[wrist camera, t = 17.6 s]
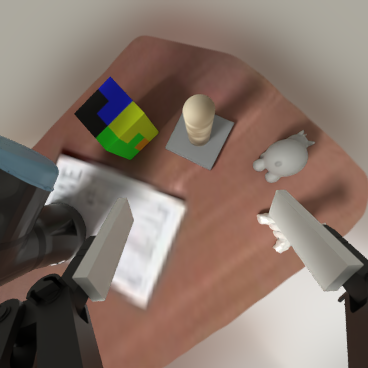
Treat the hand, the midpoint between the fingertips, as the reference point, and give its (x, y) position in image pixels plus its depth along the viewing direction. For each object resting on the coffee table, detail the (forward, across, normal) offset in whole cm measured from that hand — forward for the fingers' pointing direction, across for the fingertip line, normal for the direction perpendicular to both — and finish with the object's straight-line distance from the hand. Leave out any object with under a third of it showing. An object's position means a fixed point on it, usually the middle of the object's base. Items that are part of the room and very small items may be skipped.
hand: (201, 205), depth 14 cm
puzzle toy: (+29, -14, 0) cm, 33 cm away
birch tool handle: (+25, +2, 0) cm, 25 cm away
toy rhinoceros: (+22, +20, -5) cm, 30 cm away
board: (+26, +2, -1) cm, 27 cm away
